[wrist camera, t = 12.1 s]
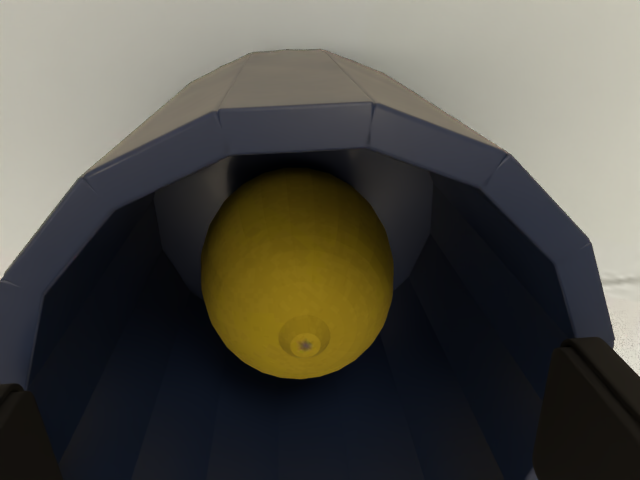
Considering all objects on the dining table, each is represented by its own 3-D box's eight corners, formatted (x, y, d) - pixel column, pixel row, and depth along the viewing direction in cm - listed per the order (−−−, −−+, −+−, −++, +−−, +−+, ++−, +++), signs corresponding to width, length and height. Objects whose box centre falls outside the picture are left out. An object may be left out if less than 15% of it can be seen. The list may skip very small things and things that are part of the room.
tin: (110, 56, 17) (-120, 124, 7) (457, 41, 17) (680, 86, 8) (166, 346, 21) (75, 622, 12) (436, 327, 22) (558, 575, 12)
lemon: (394, 180, 18) (473, 292, 11) (324, 301, 20) (354, 464, 13) (252, 112, 17) (239, 190, 10) (191, 249, 19) (142, 400, 12)
